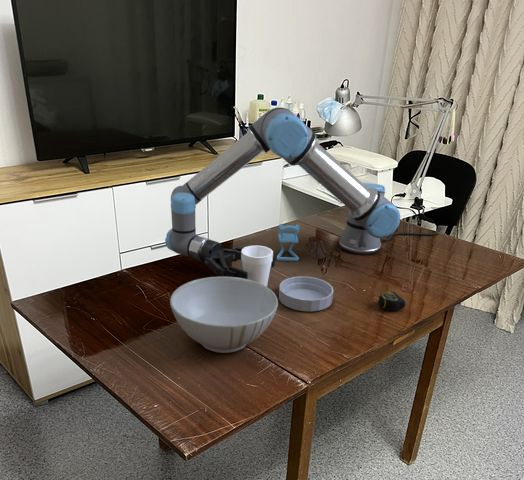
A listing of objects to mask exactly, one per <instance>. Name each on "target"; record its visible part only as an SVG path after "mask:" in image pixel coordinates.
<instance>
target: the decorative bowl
mask: <svg viewBox="0 0 524 480" xmlns="http://www.w3.org/2000/svg"><path fill="white" fill-rule="evenodd" d="M169 304H170V308H171V312H172V314H173V316H174V318H175V320H176V322H177V323H178V325H179V326H180V328H181V329H182V330H183V332H184V333H186V335H187V336H189V337H190V338H191V339H192V340H193V341H195V342H196V343H198V344H200V345H202V347H204V348H205V349H207V350H209V351H212V352H213V353H214V352H215V353H222V354H228V353H234V352H237V351H241V350H242V349H243V348H245V347H246V346H247V345H249V344H250V343H253V342H254V341H255V340H257V339H258V338H259V337H261V335H262V334H263V333H264V332H265V331H266V330H267V329H268V327H269V326H270V324H271V323H272V321H273V319H274V318H275V315H276V313H277V310H278V307H279V299H278V296H277V295H276V293H275V292H274V291H273V290H272V289H271V288H269V287H268V286H267V287H266V286H264V285H262V284H260V283H258V282H255V281H252V280H248V279H243V278H237V277H232V276H228V277H224V276H222V277H218V276H209V277H203V278H197V279H194V280H191V281H188V282H185V283H184V284H182V285H180V286H179V287H177V288H176V289H175V290H174V291H173V292H172V294H171V296H170V298H169Z"/></svg>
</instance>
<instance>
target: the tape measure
mask: <svg viewBox="0 0 524 480" xmlns="http://www.w3.org/2000/svg"><path fill="white" fill-rule="evenodd" d="M406 305H407V304H406V300H405V299H403V298H402V297H401V296H400V295H398V294H397V293H396V292H395V291H384V292H382V293H380V295H379V297H378V306H380V307H381V308H382V309H384V310H386V311H387V310H388V311H397V310H401V309H402V310H403V309H404V308H405V307H406Z"/></svg>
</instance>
